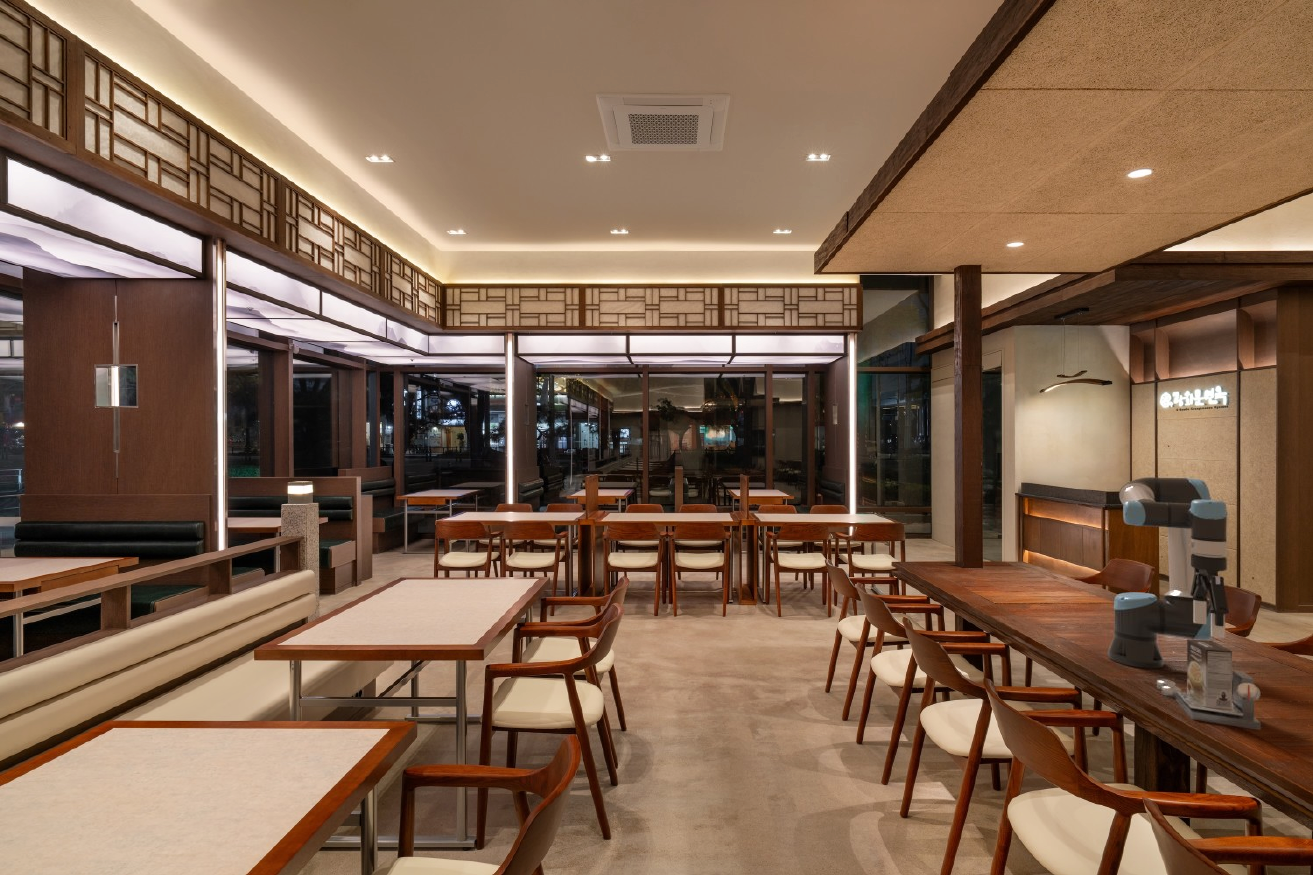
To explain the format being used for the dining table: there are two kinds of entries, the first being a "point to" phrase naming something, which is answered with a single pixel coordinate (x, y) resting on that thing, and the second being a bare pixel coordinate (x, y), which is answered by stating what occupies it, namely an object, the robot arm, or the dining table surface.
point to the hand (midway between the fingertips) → (1208, 630)
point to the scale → (1236, 716)
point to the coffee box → (1209, 674)
